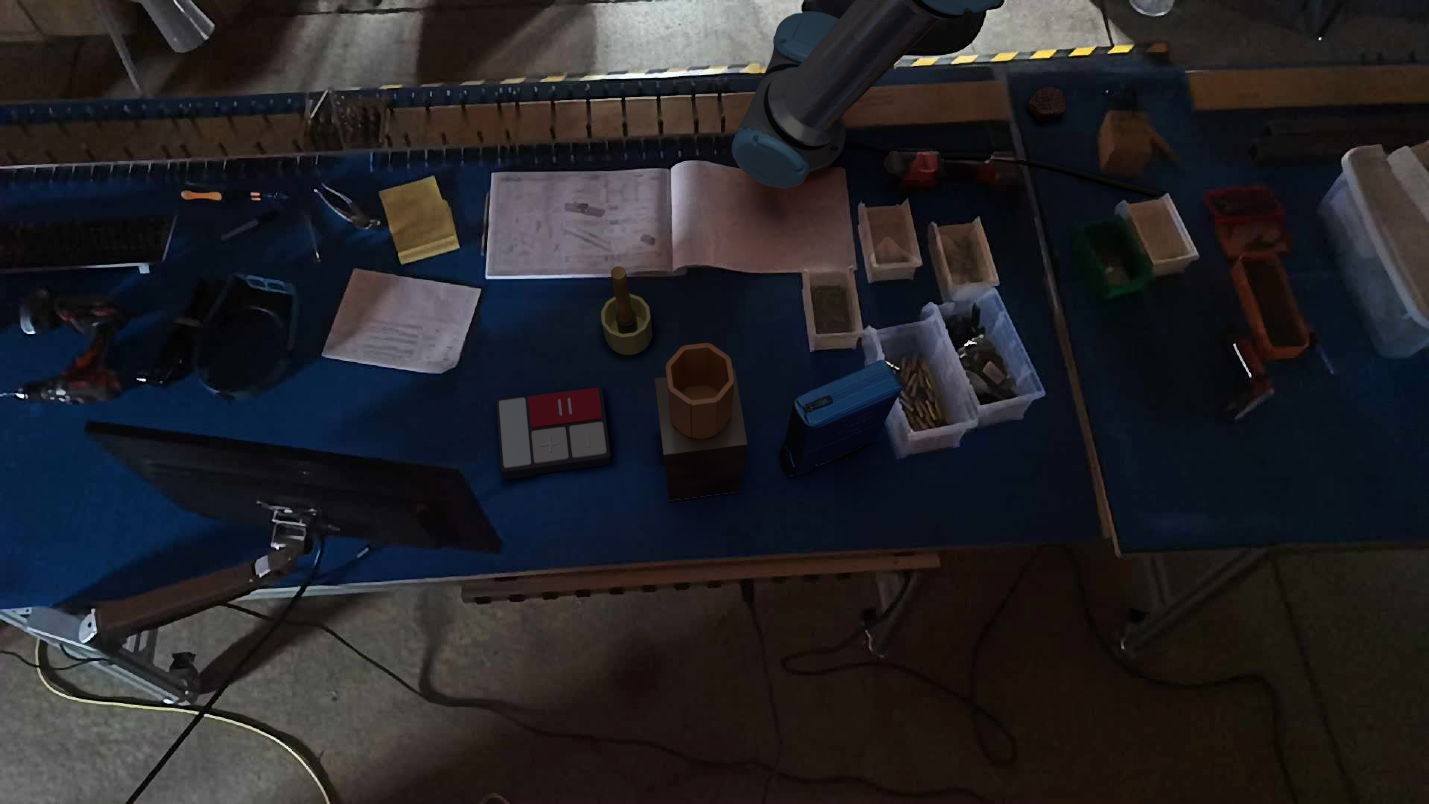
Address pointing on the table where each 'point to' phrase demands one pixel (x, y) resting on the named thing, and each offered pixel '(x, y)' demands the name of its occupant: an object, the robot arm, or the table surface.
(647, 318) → the rinse cup
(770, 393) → the table surface
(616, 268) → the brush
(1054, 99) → the stone
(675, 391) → the octagonal pencil cup
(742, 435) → the stand
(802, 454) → the book
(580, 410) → the button panel
